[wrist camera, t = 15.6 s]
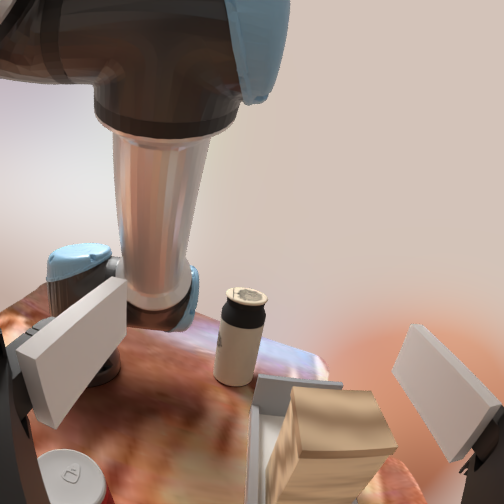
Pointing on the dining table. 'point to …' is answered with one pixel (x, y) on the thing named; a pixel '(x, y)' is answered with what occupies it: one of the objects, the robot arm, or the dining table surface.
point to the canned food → (73, 478)
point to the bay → (270, 426)
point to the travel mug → (239, 336)
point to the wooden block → (327, 447)
